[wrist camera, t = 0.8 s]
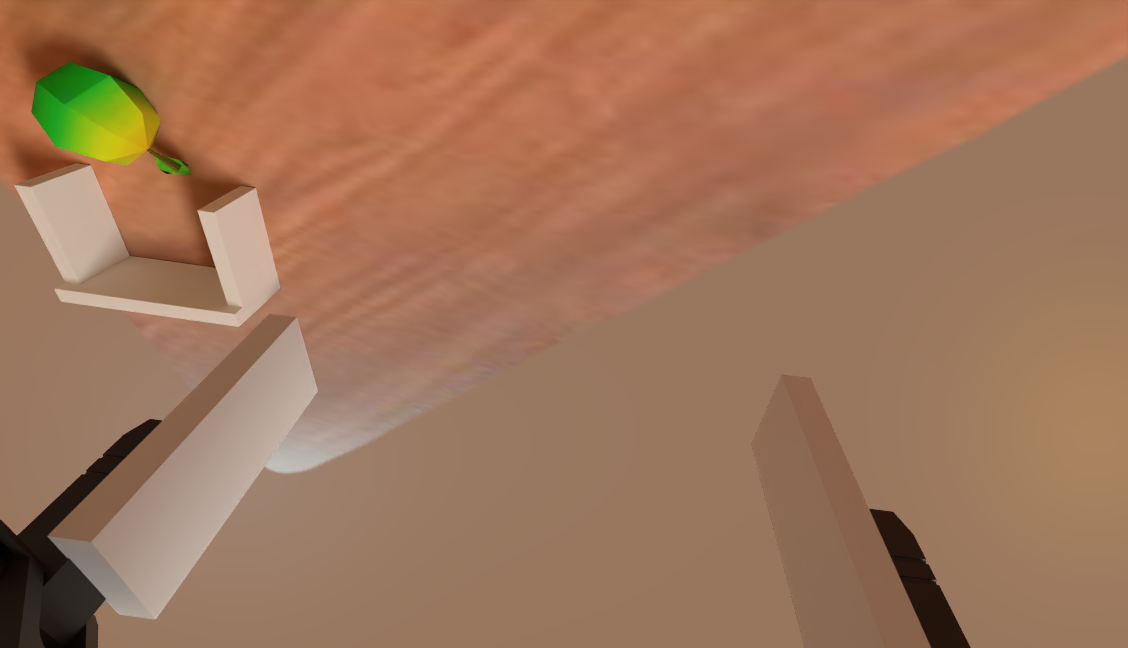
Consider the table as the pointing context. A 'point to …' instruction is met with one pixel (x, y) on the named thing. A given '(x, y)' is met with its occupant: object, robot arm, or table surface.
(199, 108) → the table surface
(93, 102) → the apple
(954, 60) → the table surface
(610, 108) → the table surface
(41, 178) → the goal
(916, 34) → the table surface
